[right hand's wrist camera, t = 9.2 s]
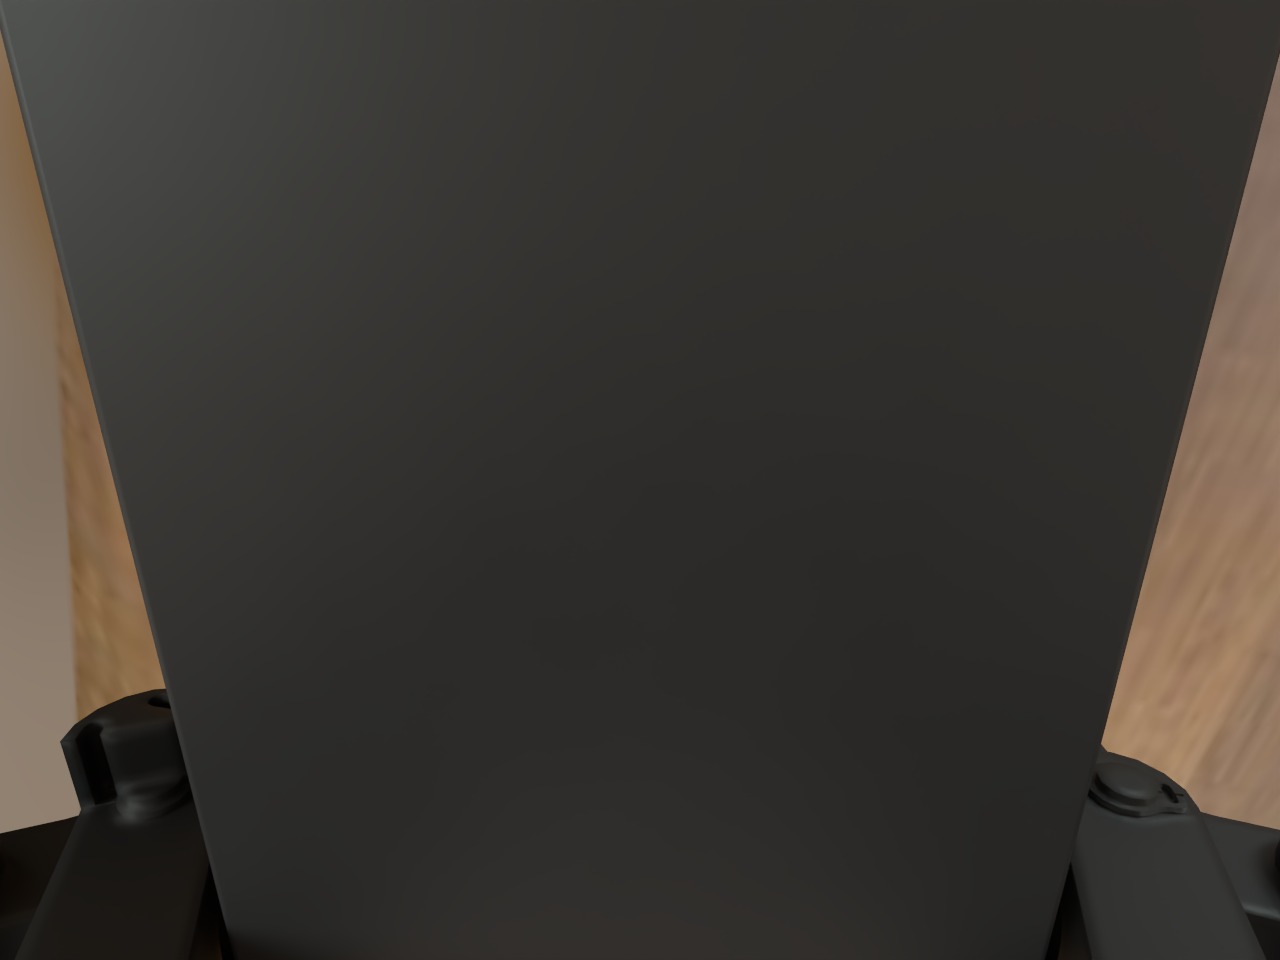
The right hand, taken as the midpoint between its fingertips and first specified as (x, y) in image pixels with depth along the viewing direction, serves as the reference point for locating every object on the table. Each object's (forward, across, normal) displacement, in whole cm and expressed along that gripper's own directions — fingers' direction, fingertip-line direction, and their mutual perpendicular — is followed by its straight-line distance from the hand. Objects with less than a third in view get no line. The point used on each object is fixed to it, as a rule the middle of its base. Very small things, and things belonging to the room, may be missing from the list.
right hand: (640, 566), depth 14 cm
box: (+1, 0, -10) cm, 10 cm away
